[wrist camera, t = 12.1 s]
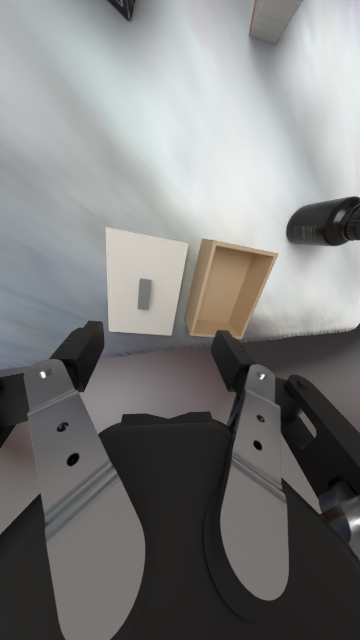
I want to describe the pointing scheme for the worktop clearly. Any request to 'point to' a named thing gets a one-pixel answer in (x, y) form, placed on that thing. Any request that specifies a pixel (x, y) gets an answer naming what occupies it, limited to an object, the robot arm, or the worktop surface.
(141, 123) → the worktop surface
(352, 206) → the supplement bottle
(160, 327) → the mailer lid
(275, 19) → the printed product carton
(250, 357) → the robot arm
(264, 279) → the box
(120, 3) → the small box
